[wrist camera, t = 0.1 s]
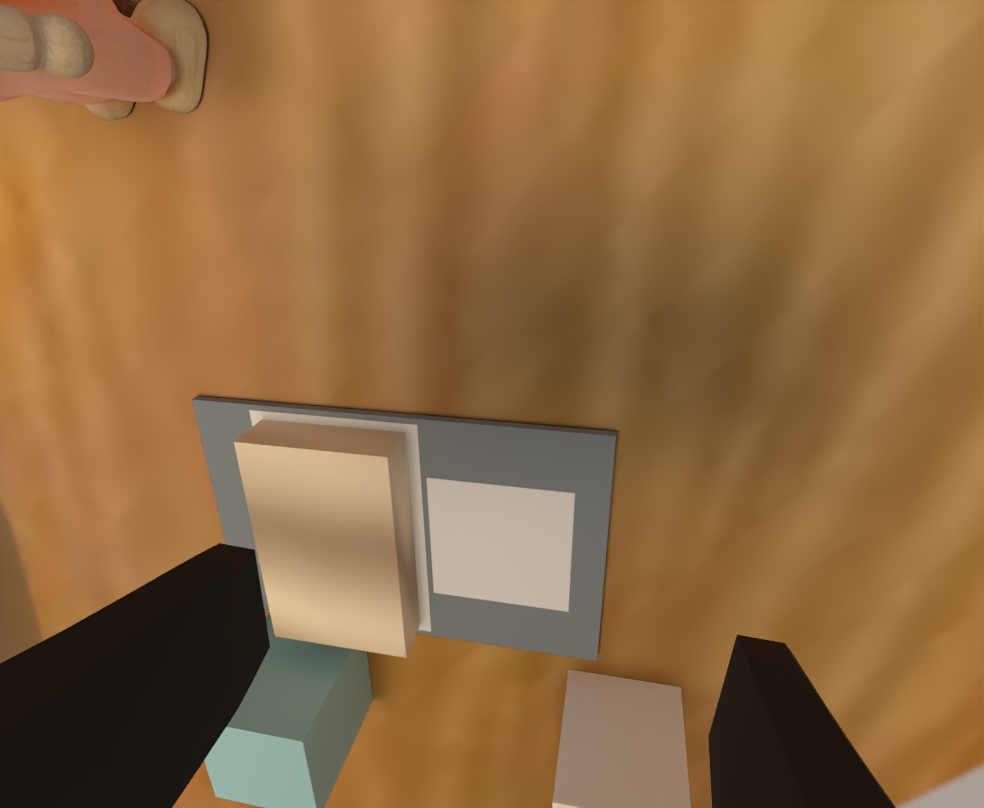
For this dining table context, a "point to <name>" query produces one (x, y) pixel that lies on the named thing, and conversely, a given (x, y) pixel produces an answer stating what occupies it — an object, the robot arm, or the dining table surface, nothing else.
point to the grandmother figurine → (103, 54)
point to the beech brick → (333, 533)
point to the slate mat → (469, 518)
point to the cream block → (621, 745)
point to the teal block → (292, 726)
